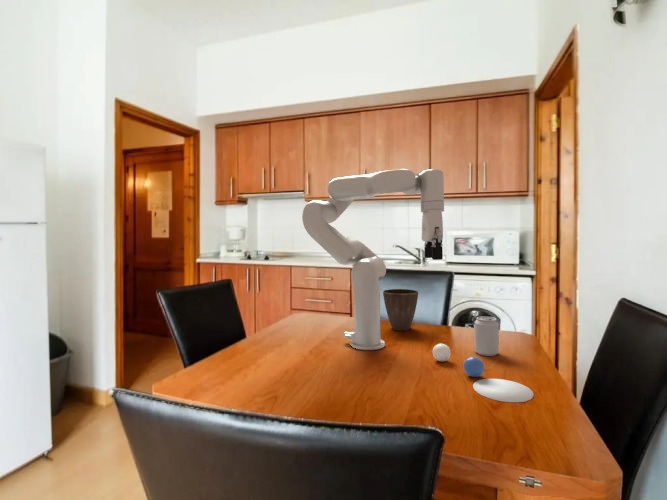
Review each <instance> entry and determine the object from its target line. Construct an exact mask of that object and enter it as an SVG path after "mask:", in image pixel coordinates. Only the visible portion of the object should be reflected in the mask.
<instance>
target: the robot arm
mask: <svg viewBox="0 0 667 500" xmlns="http://www.w3.org/2000/svg"><path fill="white" fill-rule="evenodd" d="M444 177H445V176H444V171H443V170H441V169H435V168H431V169H425V170H422V171H421V172H420V173H419V172H415V171H413V170H411V169H407V168H400V169H399V168H398V169H391V170H390V169H389V170H388V169H387V170H383V171H378V172H377V171H376V172H373V173H368V174H359V175H350V176H343V177H336V178H333V179H332V180H331V181H329V182H328V185H327V193H328V196H329V198H328V199H327V200H326V201H325V200H319V199H317V200H311V201H309V202H307V203H306V205H305V206H304V208H303V210H302V224H303V227H304V230H305V231H306V233H307V234H308V235H309V236H310V238H312V239H313V240H314V241H315V242H316V243H317V244H318V245H319V246H320V247H321V248H322V249H323V250H324V251H326V253H328V254H329V255H330V256H331V257H332V258H333V259H334V260H335V261H336V262H337V263H339V264H340V265H343V266H348V265H351V266H352V269H351V282H352V291H353V323H354V324H353V329H354V331H352V332H349V331H344V334H343V336H344V339H350V343H349V345H351V346H352V348H353V349H355V348H356V350H360V351H375V350H380V349H383V348H384V347H385V346H386V342H385V340H383V339H381V337H382V336H381V335H382V334H381V291H380V285H379V282H380V281H381V280H383V279H384V277H385V275H386V273H387V267H386V264H385V262H384V261H383V260H382V259H381V258H380V257H379V256H378V255H377V254H376V253H374V251H372V250H371V249H370V248H369V247H368V246H367V245H365V244H364V243H363V242H362V241H360V240H358V239H354V238H350V239H349V238H348V237H345V236H344V235H343V234H342V233H341V232H339V231H338V229H336V227H334V226H332V225H331V223H334V222H335V221H336V220H338V218H340V216H342V214H344V212H346V210H347V209H348V208H349V206H351V204H352V203H353V202H354V201H356V200H368V199H369V200H370V199H372V198H375V197H376V196H378V195H382V194H384V195H385V194H391V193H393V194H395V193H403V194H406V195H417V194H420V212H421V213H422V216H421V217H422V218H421V241H422V242H424V245H423V246H424V258H425V259H431V260H433V261H436V260H437V261H440V260H443V257H444V256H443V255H444V254H443V250H444V249H443V245H444V244H443V239H444V223H443V221H444V220H443V212H445V193H444V192H445V191H444V189H445V185H444V184H445V181H444V180H445V179H444ZM351 346H350V347H351Z"/></svg>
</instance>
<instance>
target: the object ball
mask: <svg viewBox="0 0 667 500" xmlns="http://www.w3.org/2000/svg"><path fill="white" fill-rule="evenodd" d="M463 370H464V373H466V374H467V376H470V377H473V378H479V377H481V376H482V375H483V374H484V372H485V364H484V362H483V361H482V360H481V359H480V358H479V357H476V356H469V357H467V358H466V359H465V360H464V361H463Z"/></svg>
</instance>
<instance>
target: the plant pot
mask: <svg viewBox="0 0 667 500" xmlns="http://www.w3.org/2000/svg"><path fill="white" fill-rule="evenodd" d="M382 294H383V295H382V296H383V301H384V307H385V311H386V315H387V318H388V321H389V324H390V326H391V329H393V330H395V331H409V330H410V329H411V327H412V325H413V324H412V323H413V320H414V317H415V313H416V309H417V304H418V297H419V291H418V290H415V289H406V288H405V289H404V288H392V289H391V288H390V289H384V290H382Z"/></svg>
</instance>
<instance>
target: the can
mask: <svg viewBox="0 0 667 500" xmlns="http://www.w3.org/2000/svg"><path fill="white" fill-rule="evenodd" d="M499 325H500V324H499V322H498V321H497V318H496V317H492V316H485V315H484V316H477V317H476V320H475V321H474V351H475V352H476V353H477V354H478V355H480V356H483V357H484V356H485V357H494V356H496V355H497V354H499V352H500V348H499V345H500V343H499V339H500V336H499V335H500V329H499V327H500V326H499Z"/></svg>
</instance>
